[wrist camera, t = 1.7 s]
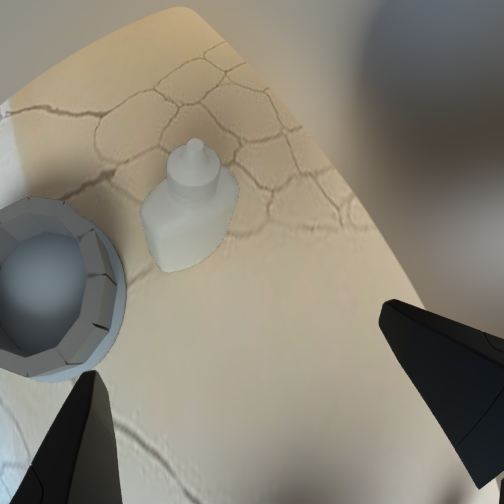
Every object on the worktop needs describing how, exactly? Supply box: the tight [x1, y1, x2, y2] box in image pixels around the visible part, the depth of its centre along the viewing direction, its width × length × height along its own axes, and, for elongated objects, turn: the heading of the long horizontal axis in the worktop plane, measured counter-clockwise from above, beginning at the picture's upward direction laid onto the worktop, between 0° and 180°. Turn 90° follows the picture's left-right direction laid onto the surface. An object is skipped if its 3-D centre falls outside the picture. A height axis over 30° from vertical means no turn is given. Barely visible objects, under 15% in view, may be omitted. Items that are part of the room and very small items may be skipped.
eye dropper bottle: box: [140, 138, 240, 273], centre depth 18 cm, size 4×6×12 cm
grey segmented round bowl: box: [0, 196, 126, 382], centre depth 18 cm, size 13×13×4 cm
